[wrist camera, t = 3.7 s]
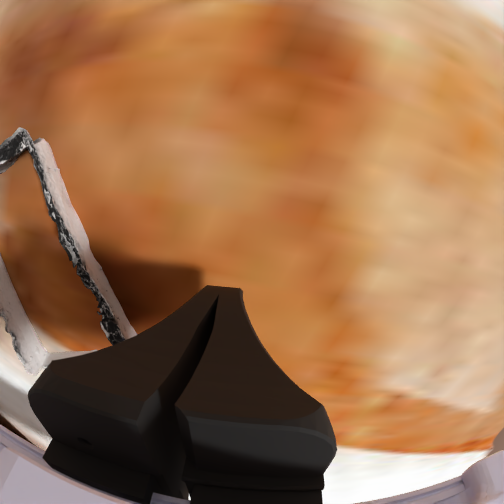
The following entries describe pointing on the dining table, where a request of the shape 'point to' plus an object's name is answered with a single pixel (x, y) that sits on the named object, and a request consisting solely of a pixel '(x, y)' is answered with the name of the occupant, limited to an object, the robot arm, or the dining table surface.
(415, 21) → the dining table surface
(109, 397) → the robot arm
